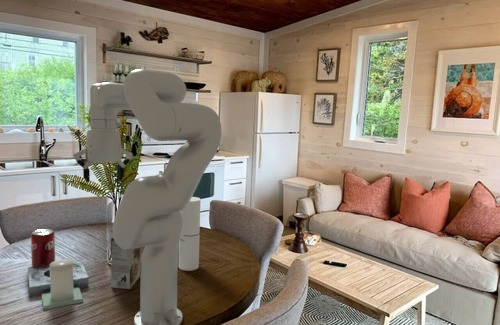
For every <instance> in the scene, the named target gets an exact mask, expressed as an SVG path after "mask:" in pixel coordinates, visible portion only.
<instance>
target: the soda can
mask: <svg viewBox="0 0 500 325" xmlns="http://www.w3.org/2000/svg"><path fill="white" fill-rule="evenodd" d="M55 234H56V233H55V231H54V230H53V229H50V228H41V229H37V230H33V231H32V232H31V234H30V249H31V250H30V251H31V253H30V254H31V255H30V256H31V267H33V266H40V265H47V264H50V263H52V262H54V261H56V239H55V236H56V235H55Z"/></svg>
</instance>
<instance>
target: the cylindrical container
mask: <svg viewBox="0 0 500 325" xmlns="http://www.w3.org/2000/svg"><path fill="white" fill-rule="evenodd" d="M201 200H202V199H201V198H200V197H198V196H197V197H196V196H192V198H191V199H190V201H189V203H188V205H187V206H186V207H185V208H184V209H183V210H181V211H180V213H181V215H182V219H183V226H182V232H181V236H180V241H179V248H178V268H179V269H180V270H181V271H189V272H190V271H195V270H197V269H199V266H200V265H199V264H200V261H199V260H200V234H201V232H200V231H201V230H200V228H201V227H200V226H201V225H200V224H201Z"/></svg>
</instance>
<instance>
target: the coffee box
mask: <svg viewBox="0 0 500 325" xmlns="http://www.w3.org/2000/svg"><path fill="white" fill-rule="evenodd" d="M110 241H111V242H110V245H111V246H110V251H111V252H110V253H111V254H110V260H111V262H110V266H111V268H110V269H111V270H110V276H111V277H110V279H111V280H110V282H111V283H110V286H111V288H113V289H114V288H116V289H128V290H130V289H131V288H132V287H133V286H134V285H135V284H136V282H137V280H139V278H140V269H141V247H140V248H136V249H130V250H127V249H122V248H120V247H119V246H118V245H117V244H116V243H115V241H114V238H113V237H111V239H110Z"/></svg>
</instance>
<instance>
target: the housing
mask: <svg viewBox="0 0 500 325" xmlns="http://www.w3.org/2000/svg"><path fill="white" fill-rule="evenodd" d="M72 261H73V287H74V288H77V287H79V289H81V288H86V287H89V275H88V273H87V271H86V268H85V265H84V264H83V261H82V259H75V260H72ZM27 279H28V280H27V281H28V291H29V297H30V298H32V297H37V296H42V294H44V293H50V264H47V265H40V266H28V267H27Z"/></svg>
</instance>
